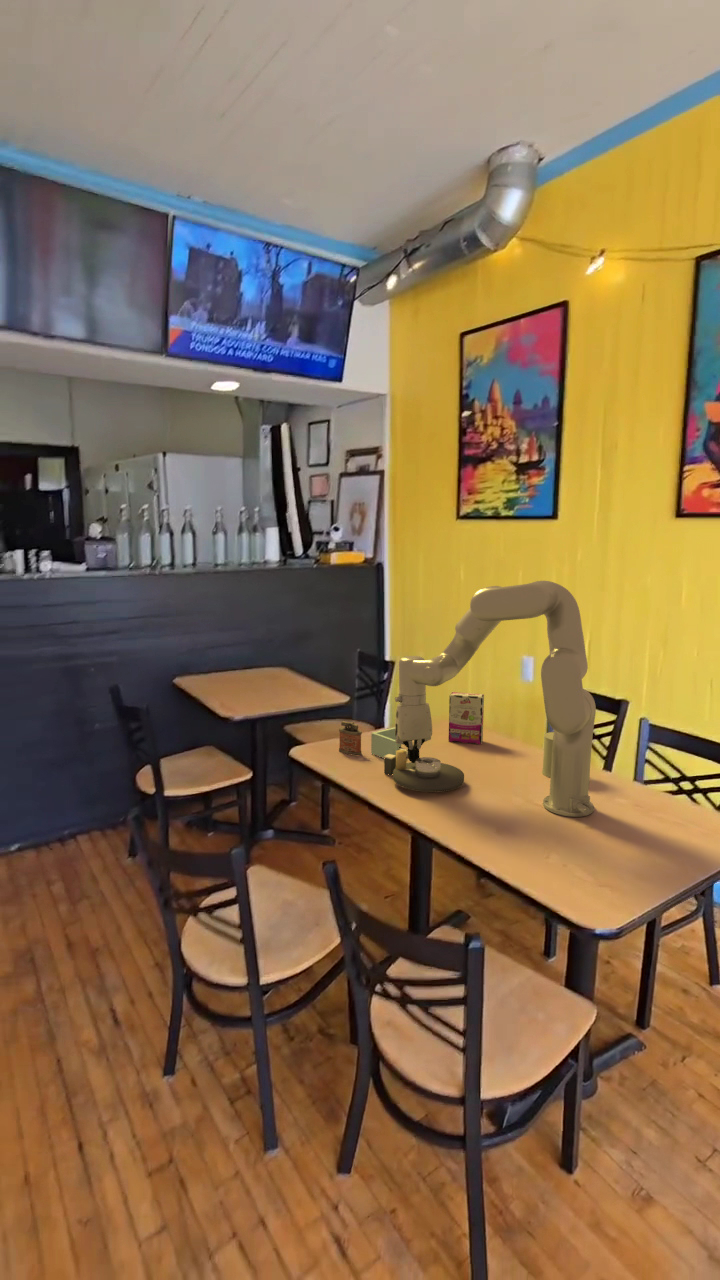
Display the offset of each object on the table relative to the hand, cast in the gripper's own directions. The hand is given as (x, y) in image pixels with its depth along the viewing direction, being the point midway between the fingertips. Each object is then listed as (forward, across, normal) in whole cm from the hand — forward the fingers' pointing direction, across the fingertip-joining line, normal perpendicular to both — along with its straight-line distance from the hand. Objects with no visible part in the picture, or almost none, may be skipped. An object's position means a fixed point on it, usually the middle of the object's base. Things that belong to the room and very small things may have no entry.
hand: (413, 761), depth 198 cm
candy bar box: (+5, +30, +26) cm, 40 cm away
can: (+6, +42, -10) cm, 43 cm away
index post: (+4, -6, +4) cm, 8 cm away
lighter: (+4, -11, +26) cm, 28 cm away
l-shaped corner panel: (+5, +2, +19) cm, 20 cm away
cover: (+2, +1, -8) cm, 8 cm away
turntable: (+3, +2, -6) cm, 7 cm away
